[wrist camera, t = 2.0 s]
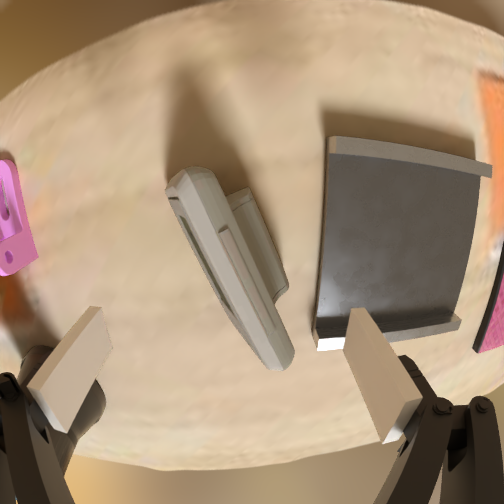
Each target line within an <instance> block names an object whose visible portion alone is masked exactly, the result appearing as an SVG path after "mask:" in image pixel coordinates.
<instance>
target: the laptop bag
mask: <svg viewBox="0 0 504 504" xmlns="http://www.w3.org/2000/svg"><path fill="white" fill-rule="evenodd" d="M501 345H504V243H503V248H502V253H501V258H500V262H499V266H498V271H497V275H496V278H495V282H494V286H493V289H492V293H491V296H490V299H489V302H488V306H487V309H486V312H485V315H484V317H483V320H482V323H481V326H480V328H479V331H478V334H477V336H476V339H475V342H474V344H473V347H472V348H473V350H474V351H475V352H476V353H481V352H484V351H488V350H491V349H494V348H496V347H499V346H501Z"/></svg>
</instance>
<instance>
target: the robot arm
mask: <svg viewBox="0 0 504 504" xmlns="http://www.w3.org/2000/svg"><path fill="white" fill-rule="evenodd" d="M112 349H113V346H112V343H111V340H110V337H109V333H108V330H107V326H106V323H105V319H104V315H103V311H102V307H92V306H90V307H89V308H88V309H87V310H86V312H85V313H84V314H83V315H82V316H81V317H80V319H79V320H78V321H77V322H76V323H75V325H74V326H73V327H72V328H71V329H70V331H69V332H68V333H67V334H66V335H65V337H64V338H63V339H62V340H61V342H60V343H59V344H58V345H57V347H56V348H55V349H53V348H50V347H46V346H36V347H33V348H32V349H31V350H30V351H29V352H28V353H27V354H26V356H25V357H24V358H23V360H22V363H21V370H20V373H19V375H18V378H17V380H16V378H15V376H14V375H13V374H12V373H9V372H5V373H1V374H0V504H16V500H17V502H18V504H75V503H74V500H73V498H72V496H71V494H70V491H69V489H68V486H67V484H66V482H65V479H64V475H65V472H66V470H67V467H68V464H69V462H70V459H71V457H72V454H73V452H74V449H75V447H76V444H77V442H78V440H79V439H80V438H81V437H82V436H83V435H84V434H85V433H86V432H87V431H88V430H89V429H90V428H91V427H92V426H93V424H95V423H96V422H98V421H99V420H100V418H101V416H102V414H103V412H104V409H105V406H106V400H105V396H104V393H103V391H102V389H101V388H100V386H99V385H98V383H97V382H96V380H95V379H96V377H97V375H98V373H99V371H100V370H101V368H102V366H103V364H104V362H105V361H106V359H107V357H108V355H109V354H110V352H111V350H112ZM343 352H344V354H345V356H346V359H347V361H348V363H349V366H350V368H351V370H352V372H353V375H354V377H355V379H356V382H357V384H358V386H359V389H360V391H361V393H362V396H363V398H364V400H365V403H366V405H367V408H368V410H369V413H370V415H371V417H372V420H373V422H374V425H375V427H376V430H377V432H378V435H379V437H380V440H381V442H382V444H384V443H388V442H392V441H396V440H398V439H399V438H400V436H401V434H402V433H403V432H404V434H405V437H406V440H405V441H404V443H403V444H402V445H401V447H400V448H399V450H398V452H399V454H398V456H397V459H396V461H395V463H394V465H393V467H392V470H391V471H390V474H389V475H388V478H387V479H386V482H385V483H384V485H383V487H382V489H381V491H380V493H379V494H378V496H377V498H376V500H375V501H374V503H373V504H428V503H429V500H430V498H431V495H432V493H433V490H434V487H435V484H436V482H437V479H438V476H439V473H440V470H441V467H442V463H443V469H442V484H441V495H440V504H504V473H503V460H502V451H501V444H500V436H499V430H498V424H497V419H496V414H495V409H494V406H493V403H492V402H491V401H490V400H489V399H488V398H486V397H483V396H476V397H474V398H472V400H471V402H470V403H469V405H457V406H454V405H453V404H452V403H451V402H450V401H449V400H447V399H445V398H441V397H437V395H436V394H435V392H434V391H433V389H432V388H431V386H430V385H429V383H428V382H427V380H426V379H425V377H424V376H423V374H422V373H421V371H420V370H419V368H418V367H417V365H416V364H415V362H414V361H413V360H412V359H410V358H409V357H407V356H406V355H402V356H397V355H396V353H395V352H394V350H393V349H392V347H391V346H390V344H389V343H388V341H387V340H386V338H385V337H384V335H383V334H382V332H381V331H380V329H379V328H378V326H377V325H376V323H375V322H374V321H373V319H372V318H371V316H370V315H369V313H368V312H367V310H366V309H365V307H363V308H351V312H350V317H349V322H348V327H347V332H346V337H345V342H344V347H343Z"/></svg>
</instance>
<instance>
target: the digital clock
mask: <svg viewBox="0 0 504 504" xmlns="http://www.w3.org/2000/svg"><path fill="white" fill-rule="evenodd" d="M165 193H166V195H167V197H168V199H169V202H170V205H171V207H172V209H173V211H174V213H175V215H176V217H177V219H178V221H179V223H180V225H181V227H182V229H183V231H184V233H185V235H186V237H187V239H188V241H189V243H190V245H191V247H192V249H193V251H194V253H195V255H196V257H197V259H198V261H199V263H200V265H201V267H202V269H203V271H204V273H205V274H206V276H207V278H208V280H209V282H210V284H211V286H212V288H213V290H214V291H215V293H216V295H217V297H218V299H219V301H220V303H221V304H222V306H223V308H224V310H225V312H226V314H227V315H228V317H229V319H230V320H231V322H232V323H233V325H234V326H235V327H236V329H237V330H238V331H239V333H240V334H241V335H242V337H243V338H244V339H245V341H246V342H247V343H248V345H249V346H250V347H251V349H252V350H253V351H254V353H255V354H256V355H257V356H258V358H259V359H260V360H261V362H262V363H263V364H264V365H265V367H266V368H267V369H269V370H277V371H284V370H286V369H287V368H288V367H289V366H290V364H291V363H292V360H293V358H294V354H295V350H294V347H293V345H292V343H291V340H290V338H289V336H288V334H287V331H286V329H285V327H284V325H283V323H282V320H281V318H280V316H279V314H278V312H277V309H276V307H275V305H274V304H275V303H276V301H277V299H278V298H279V297H280V296H281V295H282V294H283V293H285V292H286V291H287V290H288V288H289V282H288V279H287V277H286V274H285V271H284V268H283V266H282V263H281V261H280V258H279V256H278V254H277V251H276V249H275V246H274V244H273V242H272V239H271V237H270V235H269V232H268V230H267V227H266V225H265V223H264V220H263V218H262V216H261V213H260V211H259V209H258V206H257V204H256V202H255V199H254V197H253V195H252V192H251V190H250V188H249V187H247V188H244V189H242V190H239V191H237V192H235V193H232V194H230V195H228V196H226V197H225V195H224V192H223V190H222V188H221V186H220V184H219V182H218V180H217V178H216V176H215V174H214V173H213V172H212V171H211V170H210V169H207V168H204V167H199V166H193V167H188V168H185V169H182V170H181V171H179V172H178V173H177V174H176V175H175V176H174V177H173V178H171V180H170V181H169V183H168V185H167V187H166V189H165Z"/></svg>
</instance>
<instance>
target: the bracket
mask: <svg viewBox="0 0 504 504" xmlns="http://www.w3.org/2000/svg"><path fill="white" fill-rule="evenodd" d="M1 179H3V183H4V189H5V194H6V199H7V204H8V209H9V216H8V214H7V210H6V205H5V201H4V196H3V190H2V185H1ZM37 258H38V254H37V251H36V248H35V244H34V241H33V238H32V234H31V230H30V227H29V223H28V219H27V215H26V211H25V206H24V202H23V197H22V192H21V187H20V181H19V176H18V171H17V168H16V166H15V164H14V163H13V162H12V161H10V160H8V159H5V160H0V275H1V276H7V275H12V274H14V273H16V272H17V271H19V270H20V269H22V268H23V267H25V266H26V265H28V264H29V263H31V262H32V261H34V260H35V259H37Z"/></svg>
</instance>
